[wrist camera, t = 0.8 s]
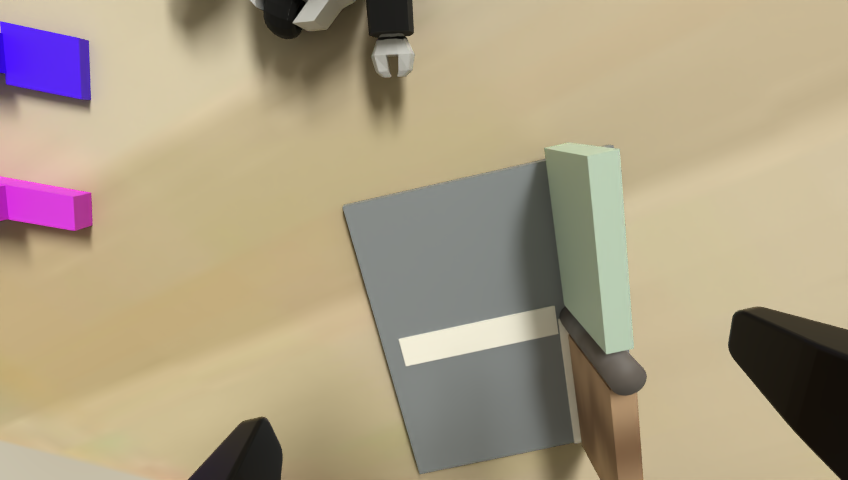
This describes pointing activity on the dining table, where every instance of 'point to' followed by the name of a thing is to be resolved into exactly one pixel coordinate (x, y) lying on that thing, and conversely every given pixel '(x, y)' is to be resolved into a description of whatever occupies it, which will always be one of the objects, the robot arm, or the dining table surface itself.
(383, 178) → the dining table surface
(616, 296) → the swing panel
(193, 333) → the dining table surface
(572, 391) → the card
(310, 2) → the robot toy
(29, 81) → the building block set
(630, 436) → the fixed fence
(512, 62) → the dining table surface
